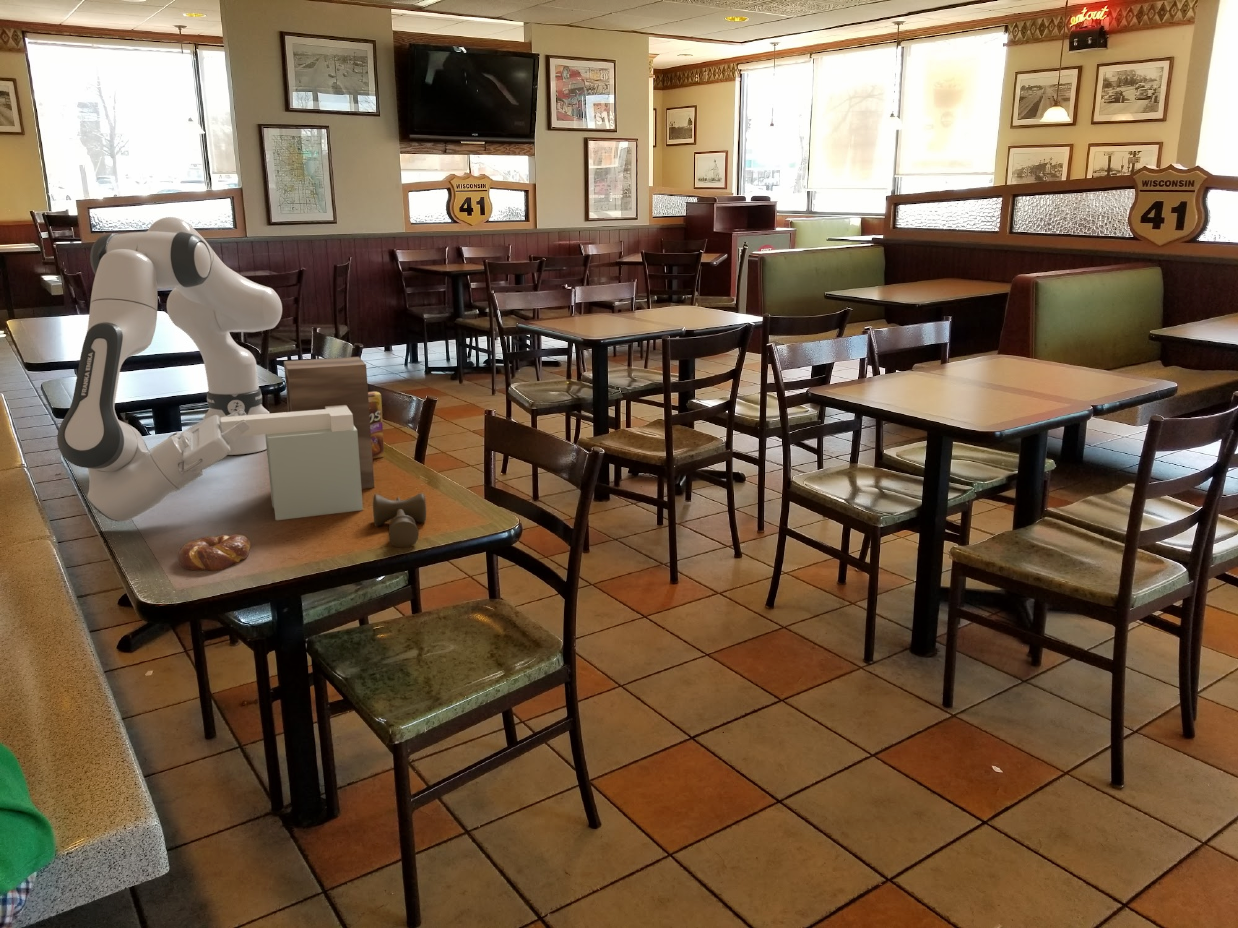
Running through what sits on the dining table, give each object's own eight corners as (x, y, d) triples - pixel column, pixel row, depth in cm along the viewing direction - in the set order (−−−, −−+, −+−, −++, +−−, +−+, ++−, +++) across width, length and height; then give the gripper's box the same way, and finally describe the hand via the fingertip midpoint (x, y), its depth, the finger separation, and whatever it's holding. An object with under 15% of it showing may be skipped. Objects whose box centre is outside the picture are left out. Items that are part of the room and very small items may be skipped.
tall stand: (294, 482, 200) (283, 361, 193) (366, 474, 206) (358, 356, 199) (299, 495, 191) (287, 369, 184) (374, 487, 197) (366, 364, 190)
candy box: (347, 463, 215) (342, 397, 211) (341, 458, 218) (336, 394, 214) (385, 457, 220) (381, 393, 215) (379, 453, 223) (374, 390, 219)
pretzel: (233, 543, 166) (231, 523, 165) (266, 558, 160) (264, 537, 159) (165, 562, 158) (162, 541, 157) (196, 579, 151) (194, 557, 150)
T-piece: (221, 430, 178) (220, 414, 177) (347, 419, 187) (346, 404, 186) (223, 441, 170) (221, 425, 169) (353, 429, 179) (352, 414, 178)
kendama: (375, 553, 163) (372, 513, 181) (432, 550, 165) (423, 511, 184) (374, 521, 161) (371, 484, 179) (431, 518, 164) (423, 482, 182)
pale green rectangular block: (272, 504, 186) (264, 425, 181) (355, 495, 192) (349, 418, 188) (276, 520, 177) (267, 437, 173) (362, 509, 183) (357, 430, 179)
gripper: (166, 461, 162) (237, 416, 164) (169, 434, 180) (233, 393, 182) (190, 489, 164) (259, 444, 167) (191, 459, 182) (253, 419, 185)
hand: (246, 417), depth 175 cm, fingers open, 8 cm apart
